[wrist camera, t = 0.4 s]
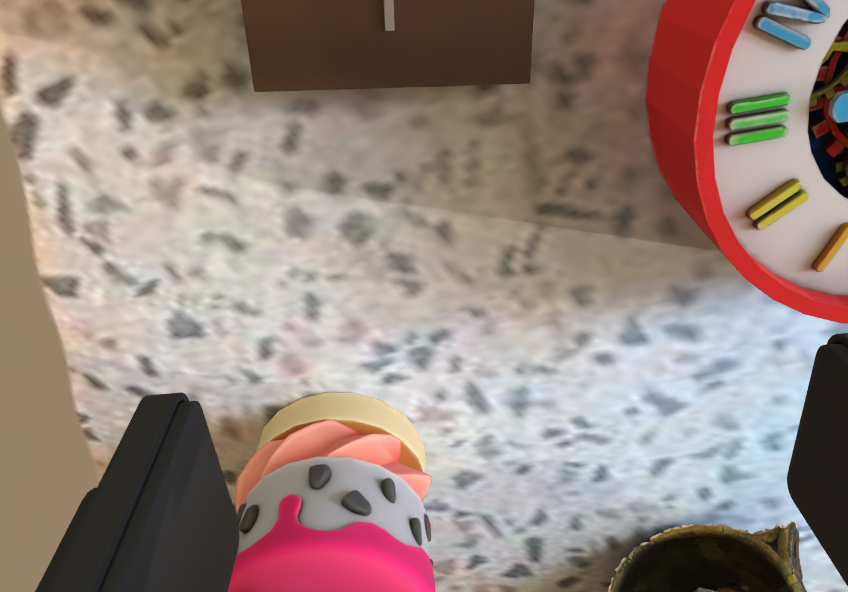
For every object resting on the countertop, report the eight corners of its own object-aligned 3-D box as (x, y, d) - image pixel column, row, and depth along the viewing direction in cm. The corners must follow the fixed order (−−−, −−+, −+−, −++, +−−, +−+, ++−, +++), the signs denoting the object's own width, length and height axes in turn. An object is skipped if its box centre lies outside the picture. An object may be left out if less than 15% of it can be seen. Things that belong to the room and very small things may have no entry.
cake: (340, 354, 38) (309, 602, 25) (467, 460, 42) (498, 720, 29) (213, 454, 41) (127, 719, 28) (342, 544, 45) (319, 810, 32)
